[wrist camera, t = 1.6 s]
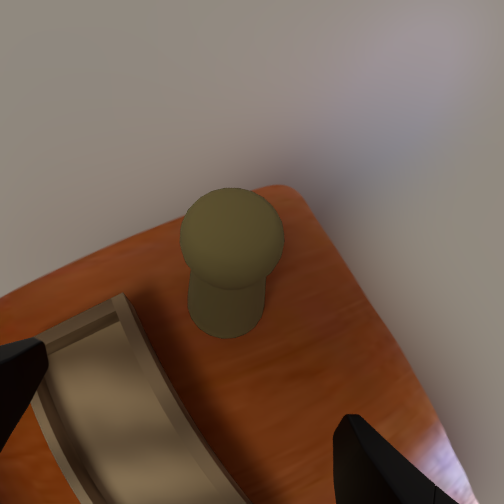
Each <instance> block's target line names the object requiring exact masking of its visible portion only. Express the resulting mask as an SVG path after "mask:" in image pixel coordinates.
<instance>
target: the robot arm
mask: <svg viewBox="0 0 504 504" xmlns="http://www.w3.org/2000/svg"><path fill="white" fill-rule="evenodd" d="M48 367H49V360H48V355H47V351H46V346H45V343H44V342H43V341H41V340H39V339H37V338H34V337H32V338H28V339H24V340H20V341H17V342H13V343H9V344H5V345H1V346H0V452H1V451H2V449H3V447H4V445H5V444H6V442H7V440H8V438H9V437H10V435H11V433H12V432H13V430H14V428H15V427H16V425H17V423H18V422H19V420H20V419H21V417H22V415H23V414H24V412H25V411H26V409H27V408H28V406H29V404H30V402H31V401H32V399H33V397H34V395H35V393H36V391H37V389H38V387H39V385H40V383H41V381H42V379H43V377H44V376H45V374H46V372H47V370H48ZM333 477H334V489H335V497H336V504H459V503H457V502H456V501H455V500H453V499H452V498H451V497H450V496H448V495H447V494H446V493H445V492H443V491H442V490H441V489H440V488H439V487H438V486H435V484H434V483H433V482H432V481H431V480H429V479H428V478H427V477H426V476H425V475H424V474H423V473H422V472H420V471H419V470H418V469H417V468H416V467H415V466H414V465H413V464H412V463H410V462H409V461H408V460H407V459H406V458H405V457H404V456H403V455H402V454H401V453H399V452H398V451H397V450H396V449H395V448H394V447H393V446H392V445H391V444H390V443H389V442H388V441H386V440H385V439H384V438H383V437H382V436H381V435H380V434H379V433H378V432H377V431H376V430H375V429H374V428H373V427H372V426H371V425H370V424H369V423H367V422H366V421H365V420H364V419H363V418H362V417H361V416H360V415H358V414H346V415H345V416H344V417H343V418H342V420H341V421H340V423H339V425H338V427H337V428H336V430H335V432H334V435H333Z"/></svg>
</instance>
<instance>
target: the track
mask: <svg viewBox="0 0 504 504" xmlns="http://www.w3.org/2000/svg"><path fill="white" fill-rule="evenodd" d="M34 338H37V339H39V340H41V341H43V342H44V343H45V346H46V351H47V355H48V360H49V367H48V370H47V372H46V374H45V376H44V377H43V379H42V381H41V383H40V385H39V387H38V389H37V391H36V393H35V395H34V397H33V399H32V401H31V405H32V408H33V410H34V413H35V416H36V418H37V421H38V423H39V425H40V428H41V430H42V432H43V435H44V437H45V439H46V441H47V443H48V446H49V448H50V450H51V452H52V454H53V456H54V458H55V460H56V462H57V464H58V465H59V467H60V469H61V471H62V473H63V475H64V476H65V478H66V480H67V482H68V483H69V485H70V487H71V488H72V490H73V492H74V493H75V495H76V496H77V498H78V499H79V501H80V503H81V504H253V503H252V502H251V501H250V500H249V498H248V497H247V496H246V495H245V493H244V492H243V491H242V490H241V488H240V487H239V486H238V485H237V483H236V482H235V481H234V479H233V478H232V477H231V475H230V474H229V473H228V471H227V470H226V469H225V467H224V466H223V464H222V463H221V462H220V460H219V459H218V457H217V456H216V455H215V453H214V452H213V450H212V449H211V447H210V446H209V444H208V443H207V441H206V440H205V438H204V437H203V435H202V434H201V432H200V431H199V429H198V427H197V426H196V424H195V423H194V421H193V419H192V418H191V416H190V415H189V413H188V411H187V410H186V408H185V406H184V405H183V403H182V401H181V399H180V398H179V396H178V394H177V392H176V391H175V389H174V387H173V385H172V384H171V382H170V380H169V378H168V376H167V374H166V373H165V371H164V369H163V367H162V365H161V363H160V361H159V359H158V357H157V355H156V353H155V351H154V349H153V347H152V345H151V343H150V341H149V339H148V337H147V335H146V333H145V331H144V329H143V326H142V324H141V322H140V320H139V318H138V315H137V313H136V311H135V309H134V306H133V305H132V304H131V302H130V301H129V300H128V299H127V297H126V296H125V294H124V293H121V294H119V295H117V296H115V297H113V298H111V299H108V300H106V301H104V302H102V303H100V304H98V305H96V306H94V307H92V308H90V309H88V310H86V311H84V312H82V313H80V314H78V315H76V316H74V317H72V318H70V319H68V320H66V321H64V322H62V323H60V324H58V325H56V326H54V327H52V328H50V329H48V330H46V331H44V332H42V333H40V334H38V335H36V336H34Z"/></svg>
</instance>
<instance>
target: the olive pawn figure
mask: <svg viewBox="0 0 504 504" xmlns="http://www.w3.org/2000/svg"><path fill="white" fill-rule="evenodd" d="M180 246H181V250H182V253H183V256H184V259H185V262H186V263H187V265H188V266H189V267H190V268H191V273H190V281H189V290H188V310H189V313H190V316H191V319H192V320H193V321H194V322H195V324H196V325H197V326H198V328H200V329H201V330H203V331H204V332H206V333H207V334H209V335H211V336H214V337H218V338H236V337H238V336H241V335H244V334H246V333H247V332H249V331H250V330H251V329H253V328H254V327H255V326H256V324H257V323H258V321H259V320H260V318H261V317H262V312H263V308H264V300H265V286H266V276H267V275H269V274H270V273H271V272H272V271H273V269H274V268H275V266H276V264H277V263H278V261H279V260H280V257H281V255H282V250H283V246H284V231H283V225H282V221H281V219H280V217H279V216H278V214H277V212H276V210H275V209H274V208H273V206H272V205H271V204H270V203H269V202H267V201H266V200H265V199H264V198H263V197H261V196H260V195H258V194H256V193H254V192H252V191H249V190H245V189H241V188H223V189H218V190H214V191H211V192H209V193H208V194H206V195H204V196H202V197H201V198H199V199H198V200H197V201H196V202H195V203H194V204H193V205H192V206H191V207H190V208H189V209H188V211H187V213H186V215H185V217H184V219H183V222H182V225H181V229H180Z"/></svg>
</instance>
